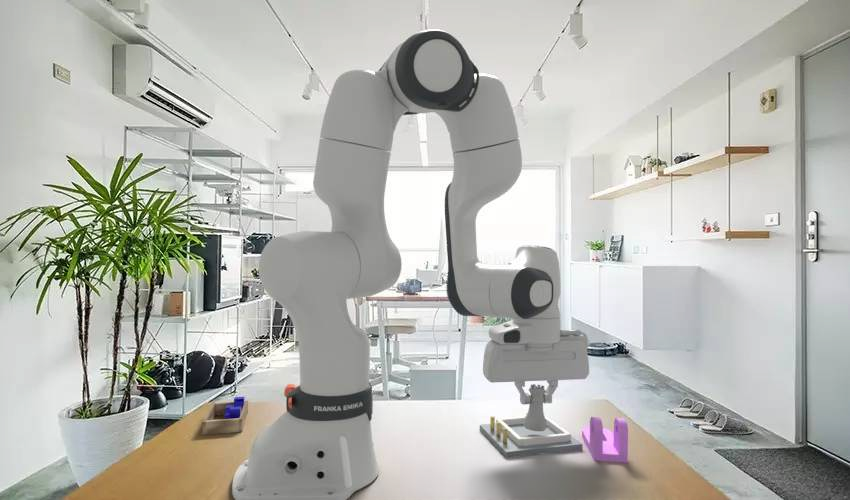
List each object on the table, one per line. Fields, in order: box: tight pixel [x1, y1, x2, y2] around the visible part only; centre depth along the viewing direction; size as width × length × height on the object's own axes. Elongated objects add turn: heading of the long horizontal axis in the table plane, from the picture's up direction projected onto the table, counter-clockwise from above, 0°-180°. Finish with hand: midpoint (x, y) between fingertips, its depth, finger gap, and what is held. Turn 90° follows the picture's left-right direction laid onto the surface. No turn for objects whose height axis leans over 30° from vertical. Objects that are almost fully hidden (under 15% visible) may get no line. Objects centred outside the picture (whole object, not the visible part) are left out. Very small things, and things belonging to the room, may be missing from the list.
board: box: [479, 414, 583, 459], centre depth 93 cm, size 15×13×4 cm
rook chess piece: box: [523, 383, 547, 431], centre depth 93 cm, size 4×4×8 cm
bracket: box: [581, 416, 629, 463], centre depth 91 cm, size 13×6×7 cm, turn 173°
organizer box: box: [201, 400, 249, 436], centre depth 100 cm, size 7×11×2 cm, turn 14°
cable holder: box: [224, 396, 246, 419], centre depth 101 cm, size 8×4×4 cm, turn 14°
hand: (535, 403), depth 93 cm, fingers closed on rook chess piece, 3 cm apart
